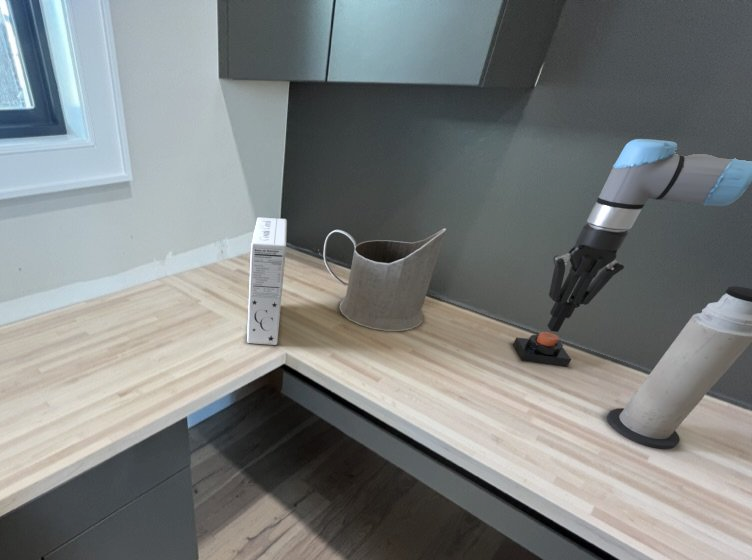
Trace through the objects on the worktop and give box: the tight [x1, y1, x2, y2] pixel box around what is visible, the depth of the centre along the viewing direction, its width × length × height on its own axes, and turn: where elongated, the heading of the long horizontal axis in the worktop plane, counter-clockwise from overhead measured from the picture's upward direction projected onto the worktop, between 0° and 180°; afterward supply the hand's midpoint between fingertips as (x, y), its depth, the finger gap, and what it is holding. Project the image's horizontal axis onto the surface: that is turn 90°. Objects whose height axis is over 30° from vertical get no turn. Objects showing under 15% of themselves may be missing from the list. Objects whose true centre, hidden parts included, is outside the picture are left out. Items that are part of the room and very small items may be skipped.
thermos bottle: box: [619, 285, 752, 439], centre depth 73 cm, size 8×8×28 cm
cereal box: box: [246, 217, 288, 346], centre depth 106 cm, size 22×8×25 cm, turn 174°
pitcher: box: [323, 228, 447, 332], centre depth 116 cm, size 23×32×25 cm
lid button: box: [536, 331, 560, 347], centre depth 101 cm, size 4×4×2 cm
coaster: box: [606, 407, 681, 450], centre depth 82 cm, size 11×11×1 cm
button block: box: [512, 333, 572, 368], centre depth 103 cm, size 10×8×4 cm
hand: (552, 328), depth 99 cm, fingers closed
